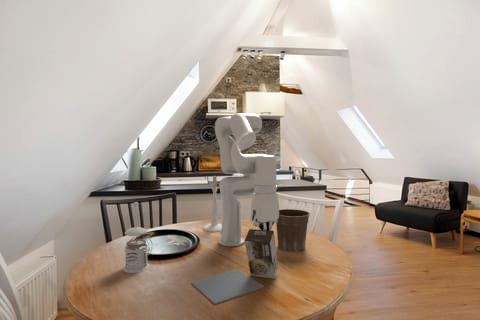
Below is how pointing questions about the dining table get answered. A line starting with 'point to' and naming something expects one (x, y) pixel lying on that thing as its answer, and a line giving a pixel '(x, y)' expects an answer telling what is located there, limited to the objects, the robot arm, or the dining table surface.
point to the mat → (226, 286)
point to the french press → (136, 251)
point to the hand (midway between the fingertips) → (265, 240)
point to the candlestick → (214, 211)
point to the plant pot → (292, 229)
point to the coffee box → (261, 253)
